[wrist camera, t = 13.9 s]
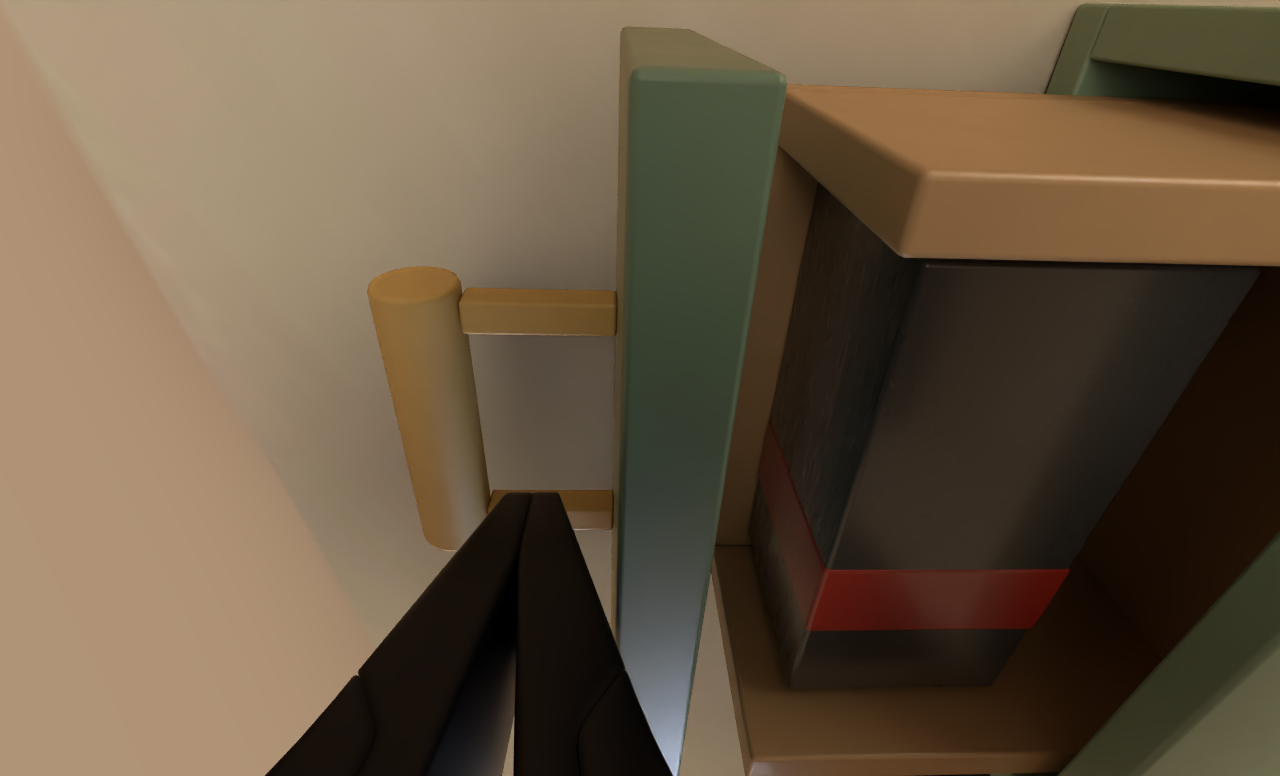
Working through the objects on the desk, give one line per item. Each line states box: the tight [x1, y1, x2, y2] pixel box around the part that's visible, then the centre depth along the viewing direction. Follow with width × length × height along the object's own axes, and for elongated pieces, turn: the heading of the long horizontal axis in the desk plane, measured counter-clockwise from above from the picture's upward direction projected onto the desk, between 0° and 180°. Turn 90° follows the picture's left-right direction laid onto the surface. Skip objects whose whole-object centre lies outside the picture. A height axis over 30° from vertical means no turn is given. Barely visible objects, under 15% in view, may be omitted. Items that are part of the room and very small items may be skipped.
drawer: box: [367, 27, 1280, 776], centre depth 11 cm, size 16×12×6 cm
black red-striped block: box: [748, 182, 1260, 689], centre depth 11 cm, size 4×8×4 cm, turn 178°
